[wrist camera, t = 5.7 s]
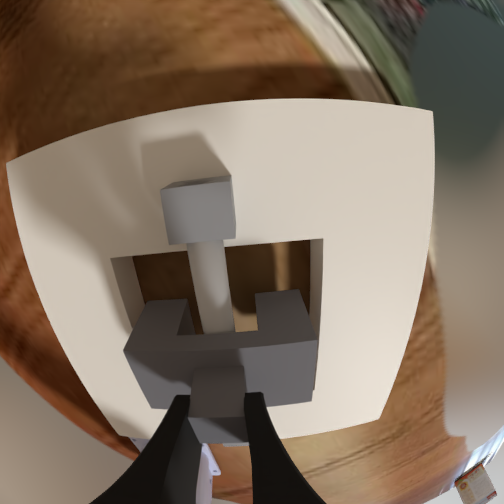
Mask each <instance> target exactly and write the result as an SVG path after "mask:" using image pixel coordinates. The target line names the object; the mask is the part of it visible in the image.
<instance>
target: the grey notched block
mask: <svg viewBox="0 0 504 504" xmlns="http://www.w3.org/2000/svg"><path fill="white" fill-rule="evenodd" d="M255 302H256V313H257V324H258V331H247V332H235V333H220V334H202V335H196V333H195V329H194V325H193V321H192V317H191V312H190V308H189V304H188V299H172V300H153V301H147V303H146V305H145V307H144V308H143V310H142V312H141V314H140V316H139V318H138V320H137V322H136V324H135V326H134V328H133V330H132V332H131V334H130V336H129V339H128V341H127V343H126V345H125V347H124V349H123V352H124V355H125V357H126V359H127V361H128V363H129V366H130V368H131V370H132V372H133V374H134V376H135V378H136V380H137V382H138V384H139V386H140V388H141V390H142V392H143V394H144V396H145V398H146V399H147V401H148V403H149V405H150V407H151V408H152V409H169V407H170V405H171V403H172V401H173V399H174V397H175V396H176V395H190V406H189V413H188V420H189V422H190V424H191V426H192V428H193V430H194V432H195V434H196V436H197V438H198V440H199V442H200V443H247V442H248V435H247V428H246V422H245V415H244V397H245V393H250V392H262V393H263V394H264V400H265V404H266V407H272V406H282V405H290V404H297V403H304V402H311V401H312V395H313V386H314V376H315V366H316V355H317V342H318V339H317V337H316V334H315V331H314V328H313V326H312V323H311V320H310V318H309V315H308V312H307V309H306V307H305V304H304V301H303V299H302V296H301V294H300V291H299V289H294V290H284V291H275V292H264V293H255Z"/></svg>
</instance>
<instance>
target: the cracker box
mask: <svg viewBox="0 0 504 504" xmlns="http://www.w3.org/2000/svg"><path fill="white" fill-rule="evenodd" d="M455 486H456V488H457V490H458V492H459V494H460V497H461V499H462V501H463V503H464V504H486V503H487V502H488V501H490V500H491V499H493V498H494V497H495V496H497V493H496V491H495V489H494V487H493V485H492V483H491V481H490V478H489V477H488V475H487V473H486V471H485V469H484V467H483V465H482V463H481V464H480V465H478V466H477V467H476V468H474V469H473V470H472V471H470V472H469V473H468V474H466V475H465V476H463V477H462V478H460V479H459V480H457V481H456V482H455Z"/></svg>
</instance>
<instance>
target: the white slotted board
mask: <svg viewBox="0 0 504 504" xmlns="http://www.w3.org/2000/svg"><path fill="white" fill-rule="evenodd" d="M434 157H435V150H434V125H433V112H432V111H428V110H423V109H417V108H411V107H405V106H399V105H392V104H384V103H375V102H365V101H353V100H338V99H263V100H247V101H235V102H225V103H216V104H208V105H200V106H193V107H187V108H181V109H175V110H169V111H164V112H159V113H154V114H149V115H145V116H140V117H136V118H132V119H128V120H124V121H120V122H116V123H112V124H109V125H105V126H102V127H98V128H95V129H92V130H88V131H85V132H82V133H79V134H76V135H73V136H70V137H67V138H65V139H62V140H59V141H56V142H54V143H51V144H49V145H46V146H44V147H41V148H39V149H36V150H34V151H32V152H29V153H27V154H25V155H22V156H20V157H18V158H16V159H14V160H12V161H10V162H8V163H6V166H7V174H8V182H9V188H10V194H11V200H12V205H13V210H14V215H15V219H16V224H17V228H18V232H19V236H20V240H21V243H22V247H23V250H24V254H25V257H26V260H27V263H28V267H29V270H30V273H31V275H32V278H33V281H34V284H35V287H36V289H37V292H38V294H39V297H40V300H41V302H42V304H43V307H44V309H45V312H46V314H47V316H48V318H49V321H50V323H51V325H52V327H53V329H54V332H55V334H56V336H57V338H58V340H59V342H60V344H61V346H62V348H63V350H64V351H65V353H66V355H67V357H68V359H69V361H70V362H71V364H72V366H73V368H74V370H75V371H76V373H77V375H78V376H79V378H80V380H81V381H82V383H83V385H84V386H85V388H86V389H87V391H88V392H89V394H90V396H91V397H92V399H93V400H94V402H95V403H96V405H97V406H98V407H99V409H100V410H101V412H102V413H103V415H104V416H105V417H106V419H107V420H108V421H109V423H110V424H111V425H112V427H113V428H114V429H115V431H116V432H117V433H118V434H119V435H120V436H127V437H134V438H141V439H151V437H152V436H153V434H154V433H155V431H156V429H157V428H158V426H159V425H160V423H161V421H162V419H163V418H164V416H165V414H166V412H167V410H168V409H152V408H151V407H150V405H149V403H148V401H147V399H146V398H145V396H144V394H143V392H142V390H141V388H140V386H139V384H138V382H137V380H136V378H135V376H134V374H133V372H132V370H131V368H130V366H129V363H128V361H127V359H126V357H125V355H124V352H123V349H124V347H125V345H126V343H127V341H128V339H129V336H130V334H131V332H132V330H133V328H134V326H135V324H136V322H137V320H138V318H139V316H140V314H141V312H142V310H143V308H144V307H145V303H144V300H143V296H142V293H141V289H140V286H139V282H138V278H137V274H136V271H135V267H134V263H133V259H132V256H135V255H145V254H156V253H166V252H176V251H188V257H189V262H190V268H191V273H192V279H193V284H194V289H195V294H196V299H197V304H198V309H199V314H200V318H201V323H202V327H203V332H204V334H220V333H235V325H234V318H233V311H232V304H231V296H230V289H229V282H228V274H227V266H226V258H225V250H224V247H230V246H241V245H252V244H263V243H274V242H286V241H297V240H309V239H310V314H309V318H310V320H311V323H312V326H313V328H314V331H315V334H316V337H317V339H318V342H317V355H316V366H315V376H314V386H313V395H312V401H311V402H304V403H297V404H290V405H282V406H272V407H267V410H268V413H269V416H270V419H271V421H272V423H273V426H274V428H275V430H276V432H277V434H278V436H279V438H280V439H283V438H291V437H298V436H305V435H311V434H317V433H322V432H328V431H333V430H337V429H342V428H346V427H351V426H355V425H359V424H363V423H366V422H370V421H374V420H377V419H379V417H380V415H381V413H382V411H383V408H384V406H385V403H386V401H387V399H388V396H389V394H390V391H391V389H392V386H393V383H394V381H395V378H396V375H397V372H398V370H399V367H400V364H401V361H402V358H403V355H404V352H405V348H406V345H407V342H408V338H409V335H410V332H411V328H412V324H413V321H414V317H415V313H416V309H417V304H418V300H419V296H420V291H421V286H422V281H423V276H424V271H425V265H426V259H427V252H428V246H429V238H430V230H431V220H432V209H433V195H434V167H435V166H434V165H435V158H434ZM223 445H224V447H225V446H249V442H247V443H223Z"/></svg>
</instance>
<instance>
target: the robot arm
mask: <svg viewBox="0 0 504 504" xmlns="http://www.w3.org/2000/svg"><path fill="white" fill-rule="evenodd" d="M189 406H190V395H176V396H175V397H174V399H173V401H172V403H171V405H170V407H169V409H168V410H167V412H166V414H165V416H164V418H163V419H162V421H161V423H160V425H159V426H158V428H157V429H156V431H155V433H154V434H153V436H152V437H151V439H141V438H134V437H129V438H130V440H131V441H132V442H133V443H134V445H135V446H136V447H137V448H138V449H139V451H140V452H141V453H140V454H139V456H138V457H137V458H136V460H135V461H134V462H133V463H132V465H131V466H130V467H129V468H128V469H127V471H126V472H125V473H124V474H123V475H122V476H121V477H120V478H119V479H118V480H117V481H116V482H115V483H114V484H113V485H112V486H111V487H110V488H108V489H107V490H106V491H105V492H104V493H102V494H101V495H100V496H99V497H97V498H96V499H95V500H93V501H92V502H91V503H89V504H211V499H212V475H220V474H221V471H220V469H219V467H218V465H217V463H216V461H215V459H214V457H213V455H212V452H211V450H210V448H209V446H208V444H207V443H200V442H199V440H198V438H197V436H196V434H195V432H194V430H193V428H192V426H191V424H190V422H189V420H188V413H189ZM244 415H245V422H246V428H247V435H248V442H249V448H250V454H251V463H252V484H253V504H326V503H325V502H324V501H323V500H322V498H321V497H320V496H319V495H318V494H317V493H316V492H315V491H314V490H313V488H312V487H311V486H310V485H309V483H308V482H307V481H306V480H305V478H304V477H303V476H302V474H301V473H300V471H299V470H298V469H297V467H296V466H295V464H294V463H293V461H292V459H291V458H290V456H289V454H288V453H287V451H286V449H285V448H284V446H283V444H282V442H281V440H280V438H279V436H278V434H277V432H276V430H275V428H274V426H273V423H272V421H271V419H270V416H269V413H268V410H267V407H266V404H265V400H264V394H263V393H262V392H250V393H245V397H244Z"/></svg>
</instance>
